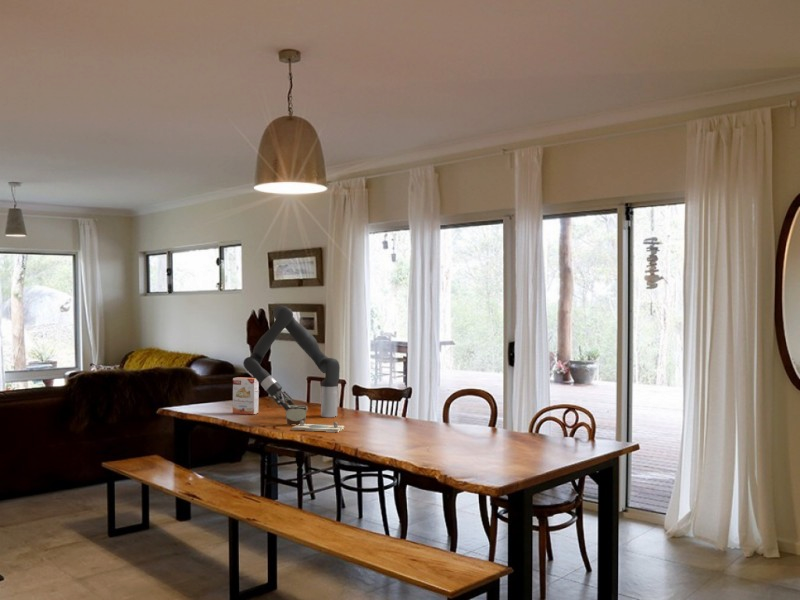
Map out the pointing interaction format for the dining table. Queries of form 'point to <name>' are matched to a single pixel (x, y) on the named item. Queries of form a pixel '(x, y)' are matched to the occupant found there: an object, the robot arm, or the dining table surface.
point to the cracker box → (245, 395)
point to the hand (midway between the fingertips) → (291, 408)
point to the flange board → (318, 427)
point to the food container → (296, 414)
